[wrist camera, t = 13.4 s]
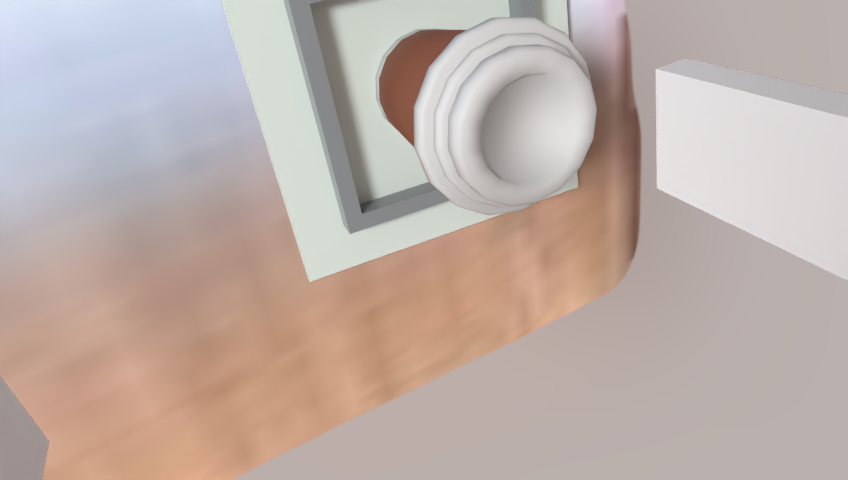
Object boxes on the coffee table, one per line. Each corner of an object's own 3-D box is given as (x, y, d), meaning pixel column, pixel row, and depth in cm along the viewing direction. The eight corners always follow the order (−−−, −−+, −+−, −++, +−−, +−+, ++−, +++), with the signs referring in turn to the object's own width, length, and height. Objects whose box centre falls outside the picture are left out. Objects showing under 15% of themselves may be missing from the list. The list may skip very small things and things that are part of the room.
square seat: (200, -67, 30) (203, -68, 28) (552, -134, 35) (573, -139, 33) (307, 277, 39) (314, 292, 38) (573, 184, 44) (590, 193, 43)
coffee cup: (477, 164, 40) (586, 233, 30) (342, 152, 36) (415, 225, 26) (509, 18, 37) (643, 39, 27) (365, -12, 33) (458, -1, 23)
